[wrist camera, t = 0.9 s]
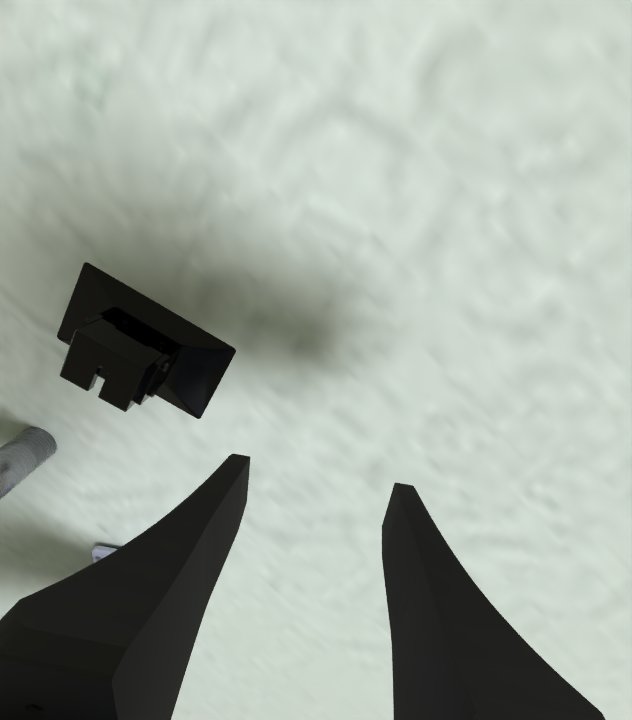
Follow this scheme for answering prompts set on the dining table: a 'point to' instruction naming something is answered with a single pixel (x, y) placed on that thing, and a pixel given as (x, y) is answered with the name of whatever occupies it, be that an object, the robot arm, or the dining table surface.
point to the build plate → (138, 347)
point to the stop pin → (23, 456)
